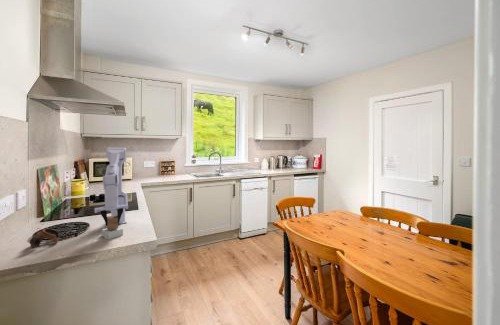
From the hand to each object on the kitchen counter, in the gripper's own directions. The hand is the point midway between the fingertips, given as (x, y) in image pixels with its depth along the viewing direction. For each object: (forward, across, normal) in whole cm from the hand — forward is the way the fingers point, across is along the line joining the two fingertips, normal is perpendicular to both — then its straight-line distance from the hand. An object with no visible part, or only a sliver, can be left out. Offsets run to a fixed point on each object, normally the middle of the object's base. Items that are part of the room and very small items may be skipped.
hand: (112, 224), depth 119 cm
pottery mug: (+6, -27, +2) cm, 28 cm away
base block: (+6, 0, 0) cm, 6 cm away
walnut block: (+2, 0, 0) cm, 2 cm away
